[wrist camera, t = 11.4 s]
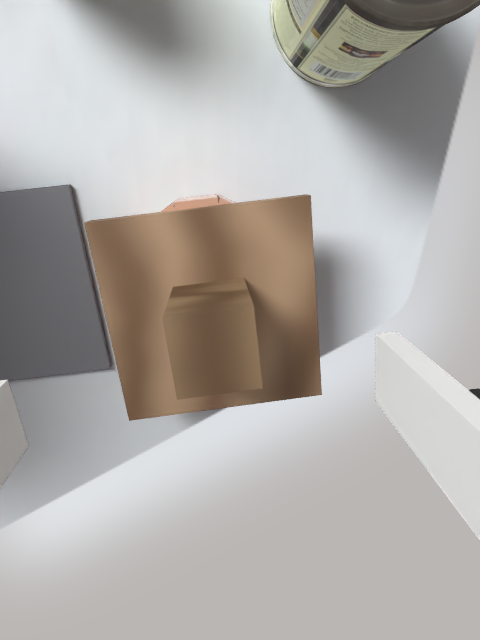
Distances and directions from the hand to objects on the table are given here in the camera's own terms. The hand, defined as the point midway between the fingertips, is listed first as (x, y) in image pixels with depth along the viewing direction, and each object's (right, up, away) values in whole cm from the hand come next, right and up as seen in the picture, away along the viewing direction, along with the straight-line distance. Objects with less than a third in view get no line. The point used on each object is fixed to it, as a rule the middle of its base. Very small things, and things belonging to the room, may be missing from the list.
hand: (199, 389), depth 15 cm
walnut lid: (-1, +3, +16) cm, 17 cm away
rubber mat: (-19, +5, +21) cm, 29 cm away
